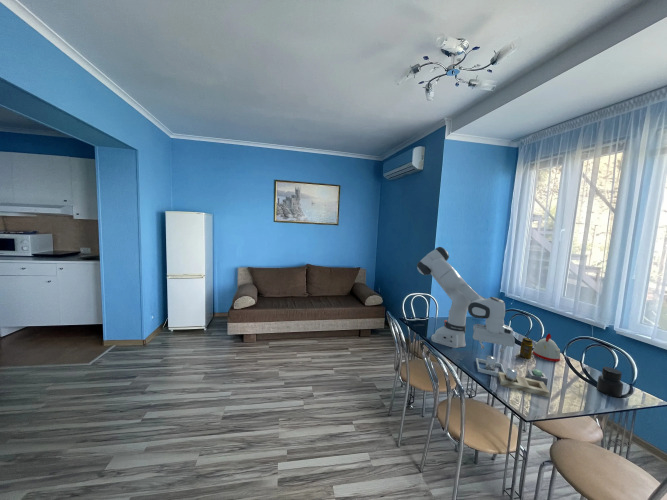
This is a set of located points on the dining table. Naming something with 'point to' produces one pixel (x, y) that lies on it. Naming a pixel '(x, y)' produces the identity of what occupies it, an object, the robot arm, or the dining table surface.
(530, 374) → the button housing
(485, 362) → the white square tray
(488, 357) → the grey metal cylinder
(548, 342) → the white red dome
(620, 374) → the ink bottle
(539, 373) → the button
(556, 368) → the dining table surface
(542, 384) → the frame
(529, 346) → the condiment
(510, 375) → the silver domed cylinder
